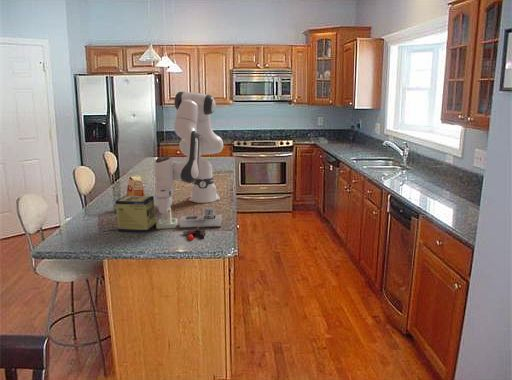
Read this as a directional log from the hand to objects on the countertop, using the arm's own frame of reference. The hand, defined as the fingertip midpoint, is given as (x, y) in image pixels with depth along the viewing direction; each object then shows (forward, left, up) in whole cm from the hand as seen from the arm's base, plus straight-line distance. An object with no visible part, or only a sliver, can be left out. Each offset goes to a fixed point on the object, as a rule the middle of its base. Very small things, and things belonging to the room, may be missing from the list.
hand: (166, 217), depth 218 cm
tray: (0, 0, -4) cm, 4 cm away
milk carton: (-36, -23, -4) cm, 43 cm away
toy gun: (+19, +14, -5) cm, 25 cm away
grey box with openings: (+5, +17, -4) cm, 18 cm away
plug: (0, 0, -4) cm, 4 cm away
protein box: (+4, -14, -4) cm, 15 cm away
